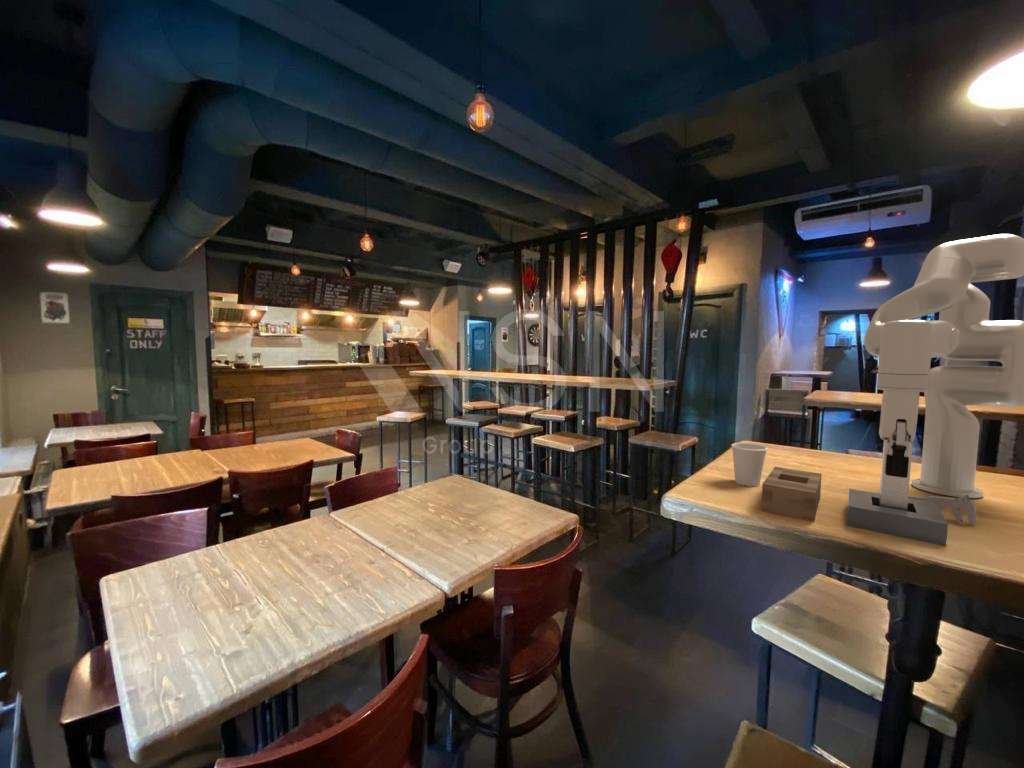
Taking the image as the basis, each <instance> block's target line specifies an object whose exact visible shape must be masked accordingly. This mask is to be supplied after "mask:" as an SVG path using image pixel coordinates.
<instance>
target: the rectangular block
mask: <svg viewBox="0 0 1024 768" xmlns="http://www.w3.org/2000/svg"><path fill="white" fill-rule="evenodd" d="M894 444H896V443H893V445H894ZM912 454H913V444H912V442H909V445H908V457H909V463H908V476H907V477H906V478H903V477H896V476H888V475H886V473H885V471H886V458H887V455H889V440H888V439H885V440H883V447H882V457H881V458H882V459H881V473H880V485H879V486H880V487H879V493H880V498H879V506H880V507H886V508H891V509H897V510H903V511H907V507H908V496H909V494H910V493H909V491H910V479H911V467H912V456H913V455H912Z"/></svg>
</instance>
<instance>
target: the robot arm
mask: <svg viewBox="0 0 1024 768" xmlns="http://www.w3.org/2000/svg"><path fill="white" fill-rule="evenodd" d="M1022 277H1024V238H1023V237H1021V236H1019V235H1015V234H1011V233H999V234H992V235H986V236H985V235H984V236H980V237H973V238H971V237H970V238H965V239H958V240H953V241H948V242H944V243H941V244H938V245H937V246H935V247H934V248H933V249H931V250H930V251H929V253H928V254H927V256H926V257H925V260H924V262H923V264H922V267H921V269H920V270H919V273H918V275H917V278H916V280H915V282H914V284H913V286H912V287H911V288H908V289H906V290H903V292H900V293H898V294H897V295H896V296H894V297H892V298H890V299H889V300H887V301H886V302H884V303H883V304H882V305H880V306H879V307H878V308H877V310H875V313H874V314H873V316H872V318H871V321H870V322H869V324H868V327H867V329H866V331H865V335H864V340H863V342H864V347H865V349H866V351H867V353H868V354H870V355H871V356H874V357H877V358H878V368H877V379H876V382H877V384H876V390H880V391H883V392H882V396H881V405H880V406H881V407H880V417H879V428H878V429H879V430H878V435H879V437H880V439H881V440H883V441H884V440H886V439H887V440H889V455H887V458H886V471H885V473H886V475H888V476H896V477H903V478H906V477H907V476H908V463H909V457H908V445H909V442H910V443H913V442H914V441H915V438H916V431H917V426H918V425H917V424H918V415H919V407H920V393H923V394H924V401H925V402H924V404H925V416H924V431H923V441H922V455H921V465H920V467H921V468H920V477H918V478H914V479H912V480H911V486H912V487H915V488H916V489H919V490H921V491H925V492H929V493H932V494H937V495H943V496H946V497H952V498H958V496H957V494H961V495H962V496H963V497H964V496H965V495H967V494H968V495H969V499H980V498H983V497H984V491H982V489H980V488H978V487H976V486H975V481H976V480H975V479H976V472H977V471H976V470H977V462H978V461H977V460H978V451H979V450H978V449H979V438H980V428H981V427H980V422H979V420H978V418H977V417H976V416H975V414H973V412H971V411H970V409H969V408H968V407H967V406H977V407H978V406H979V407H993V408H1009V409H1010V408H1019V407H1022V406H1024V320H1020V319H1018V320H1017V319H1005V320H1003V319H1002V320H1001V319H1000V320H990V309H991V300H990V298H989V297H988V295H986V293H984V292H983V291H982V290H981V289H979V287H976V286H975V285H973V284H972V283H982V282H990V281H991V282H994V281H1002V280H1004V281H1005V280H1013V279H1020V278H1022ZM936 313H939V315H938V320H936V319H935V320H926V319H918V318H922V317H925V316H928V315H929V316H930V315H932V314H933V315H934V314H936ZM933 358H936V359H937V358H942V359H946V360H952V361H953V360H954V361H980V362H981V361H982V362H983V361H986V362H987V361H988V362H989V361H990V362H998V363H1001V365H1002V366H998V365H997V366H994V365H993V366H992V365H990V366H989V365H965V364H963V365H961V364H959V365H957V364H956V365H955V364H953V365H951V364H947V365H939V366H935V367H932V368H931V361H932V359H933ZM893 443H896V444H894V445H893Z"/></svg>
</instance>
